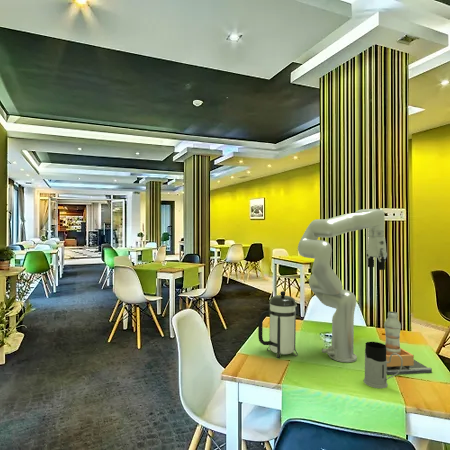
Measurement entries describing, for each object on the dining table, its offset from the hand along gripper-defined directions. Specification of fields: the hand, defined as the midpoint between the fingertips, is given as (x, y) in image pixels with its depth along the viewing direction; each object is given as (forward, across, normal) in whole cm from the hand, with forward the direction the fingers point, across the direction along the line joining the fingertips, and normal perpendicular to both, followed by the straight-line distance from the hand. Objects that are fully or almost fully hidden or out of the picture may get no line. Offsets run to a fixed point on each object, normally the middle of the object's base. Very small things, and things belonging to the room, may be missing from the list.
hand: (376, 268), depth 167 cm
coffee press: (+40, -4, +50) cm, 64 cm away
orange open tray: (+39, -22, +6) cm, 45 cm away
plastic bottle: (+36, -22, +5) cm, 43 cm away
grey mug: (+40, -37, +19) cm, 58 cm away
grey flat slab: (+40, -22, +2) cm, 46 cm away
